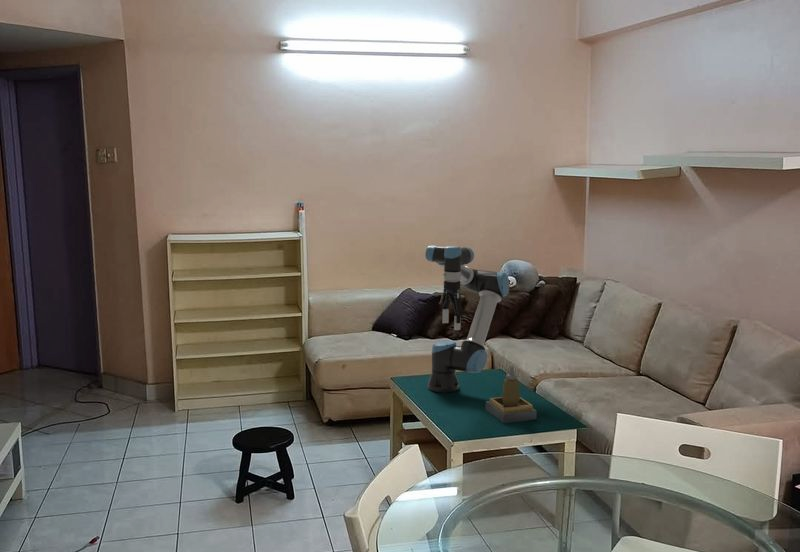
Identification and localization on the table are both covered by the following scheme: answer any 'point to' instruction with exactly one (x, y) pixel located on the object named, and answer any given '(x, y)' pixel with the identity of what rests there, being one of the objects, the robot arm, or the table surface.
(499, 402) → the square gold-rimmed tray
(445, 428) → the table surface
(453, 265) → the robot arm
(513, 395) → the squeeze bottle
